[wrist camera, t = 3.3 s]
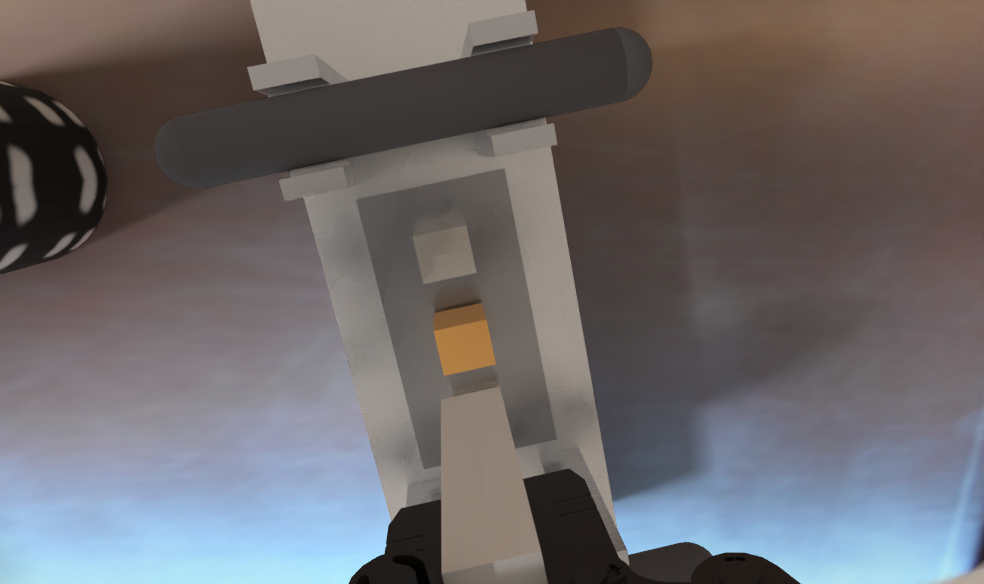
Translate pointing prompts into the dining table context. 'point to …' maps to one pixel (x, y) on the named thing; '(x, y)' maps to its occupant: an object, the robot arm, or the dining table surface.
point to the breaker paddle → (463, 339)
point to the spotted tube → (45, 179)
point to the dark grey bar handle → (669, 562)
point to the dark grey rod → (402, 108)
